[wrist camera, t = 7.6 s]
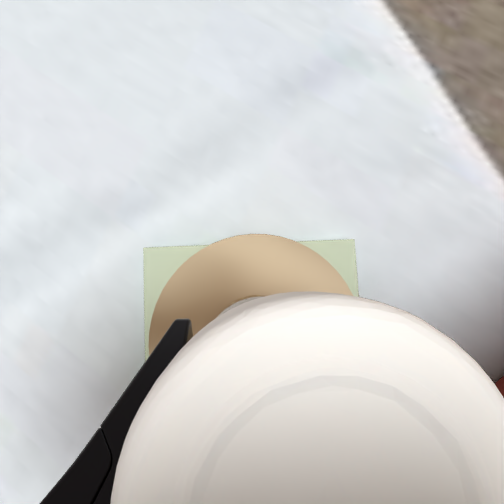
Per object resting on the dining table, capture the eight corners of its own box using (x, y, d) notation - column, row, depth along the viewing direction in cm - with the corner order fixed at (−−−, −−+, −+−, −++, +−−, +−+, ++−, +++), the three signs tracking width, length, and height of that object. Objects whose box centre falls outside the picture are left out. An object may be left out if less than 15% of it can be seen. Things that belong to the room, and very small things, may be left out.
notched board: (367, 488, 21) (374, 498, 20) (151, 503, 21) (147, 514, 20) (349, 241, 23) (354, 239, 22) (147, 249, 22) (143, 247, 21)
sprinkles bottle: (197, 384, 17) (29, 751, 3) (221, 283, 17) (162, 245, 4) (297, 407, 17) (537, 863, 3) (318, 306, 17) (597, 347, 4)
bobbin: (350, 421, 20) (372, 446, 17) (165, 432, 20) (150, 461, 17) (337, 239, 22) (355, 229, 18) (161, 247, 21) (146, 238, 18)
